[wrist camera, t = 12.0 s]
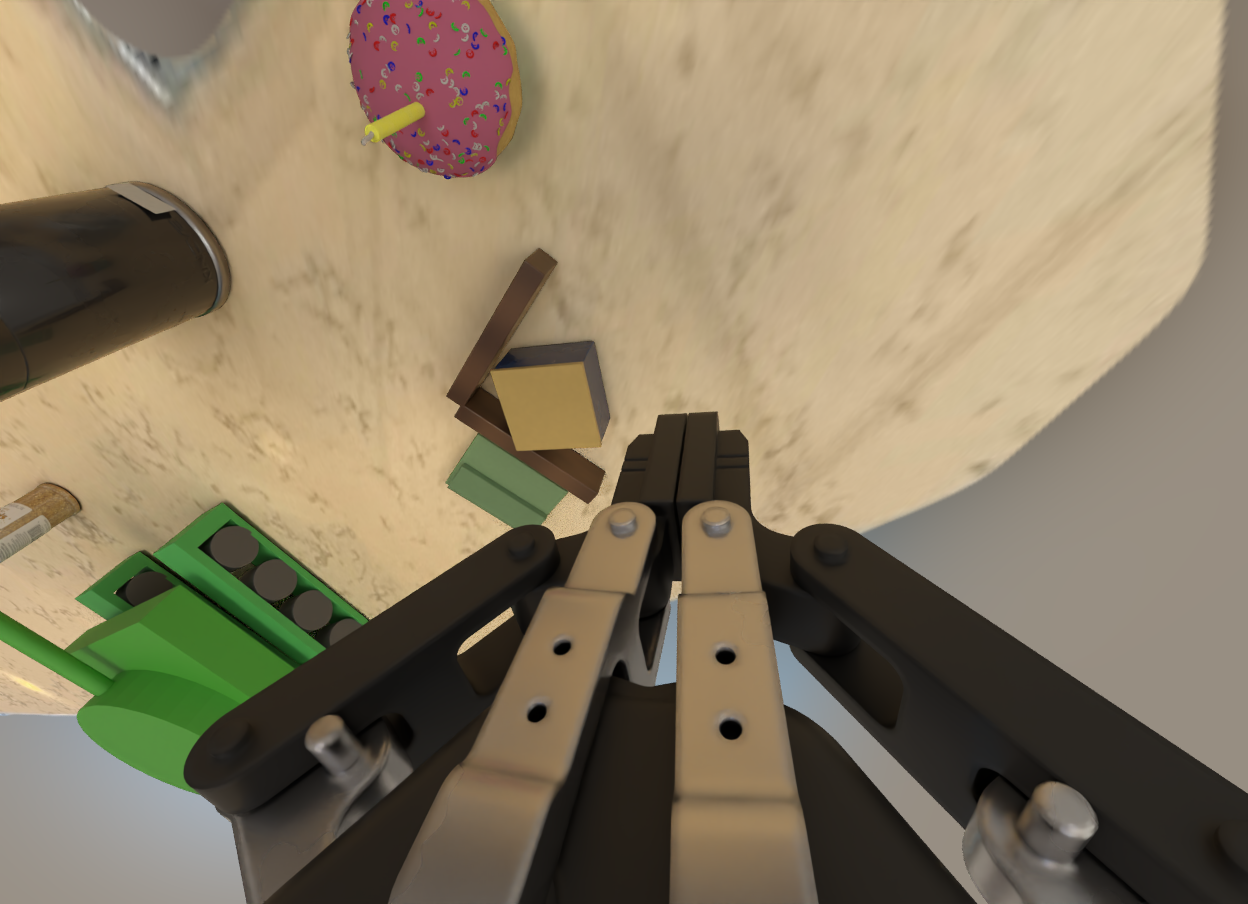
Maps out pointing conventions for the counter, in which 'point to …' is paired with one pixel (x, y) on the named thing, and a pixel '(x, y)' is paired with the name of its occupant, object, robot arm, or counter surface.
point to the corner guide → (487, 410)
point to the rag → (504, 485)
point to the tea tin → (553, 396)
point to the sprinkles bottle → (33, 517)
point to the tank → (188, 640)
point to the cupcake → (436, 81)
